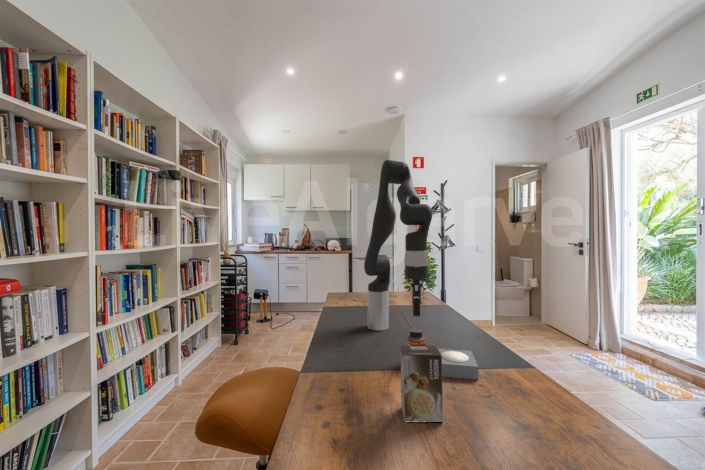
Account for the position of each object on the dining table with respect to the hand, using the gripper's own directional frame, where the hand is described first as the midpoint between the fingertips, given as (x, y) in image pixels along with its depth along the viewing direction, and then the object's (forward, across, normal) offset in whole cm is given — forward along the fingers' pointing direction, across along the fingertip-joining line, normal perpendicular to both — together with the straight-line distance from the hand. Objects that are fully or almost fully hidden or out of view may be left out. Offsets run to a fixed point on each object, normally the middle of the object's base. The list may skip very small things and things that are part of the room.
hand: (416, 312), depth 103 cm
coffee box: (+18, +29, +1) cm, 34 cm away
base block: (+17, +2, +12) cm, 21 cm away
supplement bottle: (+17, 0, 0) cm, 17 cm away
